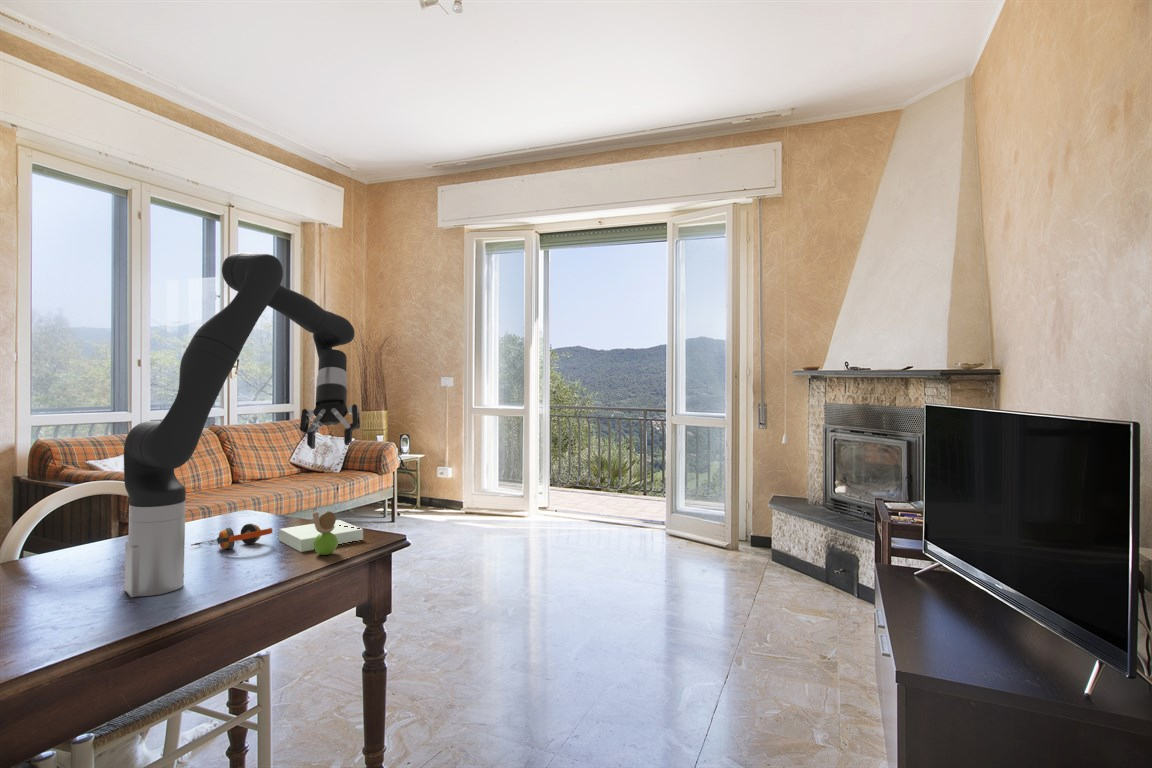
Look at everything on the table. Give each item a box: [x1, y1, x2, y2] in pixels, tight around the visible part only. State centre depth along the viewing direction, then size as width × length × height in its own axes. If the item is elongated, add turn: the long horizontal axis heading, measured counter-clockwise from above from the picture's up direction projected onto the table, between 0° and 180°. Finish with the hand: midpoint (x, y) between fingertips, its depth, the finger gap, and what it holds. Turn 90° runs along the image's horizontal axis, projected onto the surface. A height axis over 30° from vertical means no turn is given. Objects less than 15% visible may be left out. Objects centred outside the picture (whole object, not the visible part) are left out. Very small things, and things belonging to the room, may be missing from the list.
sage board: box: [278, 519, 364, 553], centre depth 157 cm, size 16×14×3 cm
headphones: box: [190, 523, 273, 550], centre depth 151 cm, size 16×5×20 cm
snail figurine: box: [311, 507, 339, 556], centre depth 145 cm, size 5×6×12 cm
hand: (329, 446), depth 152 cm, fingers open, 8 cm apart
